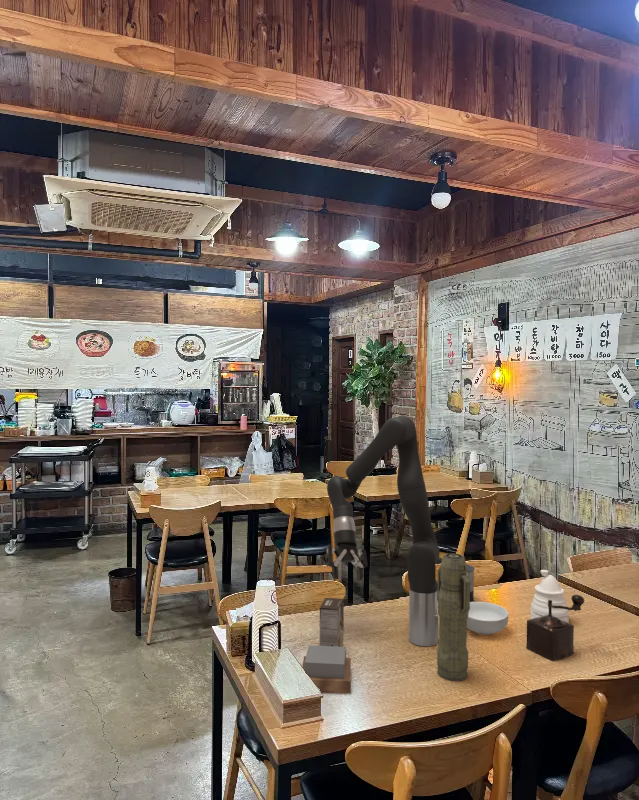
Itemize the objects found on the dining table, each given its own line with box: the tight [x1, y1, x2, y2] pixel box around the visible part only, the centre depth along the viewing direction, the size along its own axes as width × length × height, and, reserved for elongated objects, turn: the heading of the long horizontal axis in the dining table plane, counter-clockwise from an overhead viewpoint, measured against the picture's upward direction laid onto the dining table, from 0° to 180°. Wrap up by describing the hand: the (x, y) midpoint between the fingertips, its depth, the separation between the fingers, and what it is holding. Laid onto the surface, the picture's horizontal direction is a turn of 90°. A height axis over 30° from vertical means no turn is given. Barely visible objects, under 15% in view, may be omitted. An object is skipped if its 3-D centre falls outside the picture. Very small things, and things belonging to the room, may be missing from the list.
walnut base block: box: [301, 655, 352, 694], centre depth 167 cm, size 14×14×4 cm
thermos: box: [436, 552, 470, 682], centre depth 171 cm, size 9×12×35 cm
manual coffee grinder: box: [525, 594, 585, 662], centre depth 187 cm, size 16×11×18 cm
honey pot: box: [530, 569, 570, 623], centre depth 210 cm, size 13×13×18 cm
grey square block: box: [305, 644, 347, 679], centre depth 167 cm, size 11×11×4 cm
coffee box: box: [319, 597, 345, 647], centre depth 184 cm, size 9×6×16 cm
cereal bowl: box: [467, 601, 509, 636], centre depth 202 cm, size 17×17×7 cm
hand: (348, 579), depth 192 cm, fingers open, 8 cm apart
